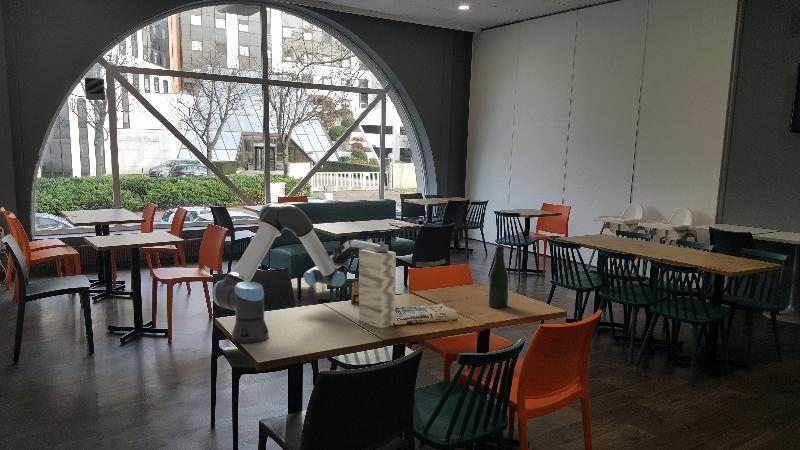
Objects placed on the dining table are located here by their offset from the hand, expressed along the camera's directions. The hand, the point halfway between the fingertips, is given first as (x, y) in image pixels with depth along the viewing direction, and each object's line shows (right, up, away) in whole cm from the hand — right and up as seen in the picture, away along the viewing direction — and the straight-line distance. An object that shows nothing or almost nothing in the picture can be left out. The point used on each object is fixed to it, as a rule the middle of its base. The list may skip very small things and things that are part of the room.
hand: (360, 242), depth 267 cm
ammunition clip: (-2, -33, +30) cm, 45 cm away
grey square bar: (+4, -3, -5) cm, 7 cm away
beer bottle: (+71, -35, +26) cm, 83 cm away
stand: (+8, -37, -6) cm, 39 cm away
